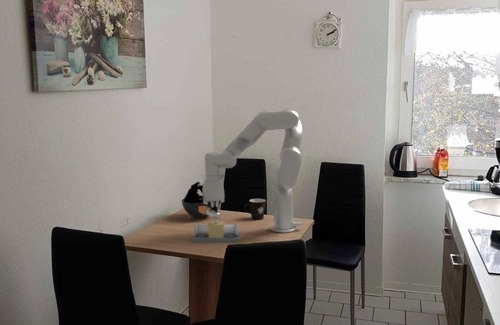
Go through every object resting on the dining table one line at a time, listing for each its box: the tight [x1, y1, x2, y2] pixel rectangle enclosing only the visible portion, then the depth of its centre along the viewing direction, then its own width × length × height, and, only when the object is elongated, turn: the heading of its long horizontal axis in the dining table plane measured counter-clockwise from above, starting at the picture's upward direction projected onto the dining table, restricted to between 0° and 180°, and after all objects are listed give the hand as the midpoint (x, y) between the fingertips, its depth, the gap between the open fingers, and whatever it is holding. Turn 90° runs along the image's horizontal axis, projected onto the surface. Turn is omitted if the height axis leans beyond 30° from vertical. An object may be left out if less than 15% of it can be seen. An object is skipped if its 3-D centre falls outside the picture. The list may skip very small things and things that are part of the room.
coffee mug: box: [243, 198, 266, 221], centre depth 290 cm, size 12×9×10 cm
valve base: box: [191, 218, 242, 243], centre depth 253 cm, size 22×10×10 cm, turn 88°
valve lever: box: [199, 206, 221, 219], centre depth 258 cm, size 3×18×3 cm, turn 31°
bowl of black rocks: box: [181, 181, 215, 219], centre depth 294 cm, size 20×20×19 cm
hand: (214, 214), depth 264 cm, fingers closed
